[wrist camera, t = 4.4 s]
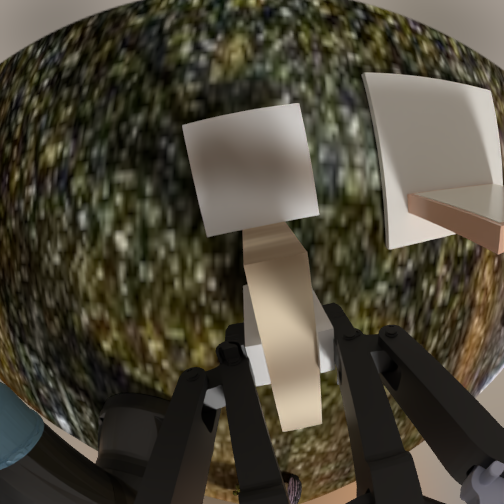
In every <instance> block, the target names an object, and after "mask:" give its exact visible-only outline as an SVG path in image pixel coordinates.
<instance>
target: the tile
mask: <svg viewBox="0 0 504 504" xmlns="http://www.w3.org/2000/svg"><path fill="white" fill-rule="evenodd" d="M407 199H408V213H410V214H413V215H415V216H418V217H420V218H423V219H425V220H427V221H430V222H432V223H434V224H436V225H439V226H441V227H443V228H445V229H448V230H450V231H452V232H454V233H456V234H458V235H461V236H463V237H465V238H467V239H469V240H471V241H473V242H475V243H477V244H479V245H481V246H483V247H485V248H487V249H489V250H491V251H492V252H494V253H496V254H500V253H503V252H504V186H502V185H497V184H483V185H474V186H466V187H457V188H449V189H441V190H434V191H426V192H419V193H412V194H407Z"/></svg>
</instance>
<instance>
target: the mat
mask: <svg viewBox="0 0 504 504" xmlns="http://www.w3.org/2000/svg"><path fill="white" fill-rule="evenodd" d="M361 75H362V78H363V82H364V86H365V90H366V94H367V99H368V103H369V108H370V112H371V117H372V122H373V127H374V133H375V139H376V145H377V151H378V158H379V165H380V173H381V181H382V191H383V202H384V216H385V234H386V248H388V249H394V248H398V247H402V246H407V245H411V244H415V243H420V242H424V241H428V240H432V239H436V238H441V237H445V236H449V235H453V234H456V233H454V232H452V231H450V230H448V229H445V228H443V227H441V226H439V225H436V224H434V223H432V222H430V221H427V220H425V219H423V218H420V217H418V216H415V215H413V214H410V213H408V199H407V194H412V193H419V192H426V191H434V190H441V189H449V188H457V187H466V186H474V185H483V184H497V185H502V186H503V180H502V161H501V150H500V141H499V133H498V126H497V120H496V115H495V109H494V104H493V100H492V95H491V91H490V90H486V89H482V88H478V87H474V86H470V85H466V84H461V83H457V82H452V81H446V80H441V79H434V78H428V77H420V76H412V75H402V74H389V73H369V72H364V73H363V74H361Z"/></svg>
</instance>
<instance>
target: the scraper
mask: <svg viewBox="0 0 504 504" xmlns="http://www.w3.org/2000/svg"><path fill="white" fill-rule="evenodd" d="M182 128H183V133H184V138H185V143H186V147H187V152H188V157H189V162H190V166H191V171H192V175H193V180H194V184H195V188H196V193H197V197H198V201H199V206H200V210H201V214H202V218H203V222H204V226H205V230H206V235H207V237H211V236H215V235H220V234H225V233H230V232H234V231H239V230H242V231H243V261H244V269H245V274H246V278H247V282H248V287H249V291H250V296H251V300H252V304H253V309H254V313H255V317H256V322H257V326H258V330H259V335H260V338H261V341H262V345H263V349H264V354H265V358H266V362H267V366H268V371H269V375H270V380H271V385H272V390H273V394H274V398H275V402H276V406H277V410H278V414H279V418H280V423H281V427H282V431H283V432H285V431H290V430H295V429H300V428H305V427H310V426H314V425H318V424H322V412H321V390H320V374H319V362H318V349H317V337H316V323H315V313H314V304H313V294H312V286H311V277H310V269H309V261H308V254H307V251H306V250H305V248H304V247H303V246H302V244H301V243H300V242H299V240H298V239H297V237H296V236H295V235H294V233H293V232H292V231H291V229H290V228H289V227H288V225H287V224H286V223H285V221H290V220H295V219H300V218H305V217H311V216H316V215H319V210H318V203H317V196H316V190H315V183H314V177H313V171H312V165H311V160H310V154H309V149H308V144H307V138H306V133H305V128H304V124H303V119H302V114H301V110H300V105H299V103H295V104H287V105H279V106H272V107H265V108H259V109H253V110H247V111H242V112H237V113H232V114H227V115H222V116H218V117H213V118H209V119H205V120H200V121H196V122H193V123H189V124H185V125H182Z"/></svg>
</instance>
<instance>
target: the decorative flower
mask: <svg viewBox="0 0 504 504" xmlns="http://www.w3.org/2000/svg"><path fill="white" fill-rule="evenodd" d="M301 488H302V486H301V482H300V480H299V477H298V476H296V475H293V474H292V475H291V476H290V478H289V484H288V492H287V494H288V497H289V500H290V503H291V504H298V502H299V499H300V496H301ZM236 489H240V487H239V485H236ZM238 491H239V492H240V490H237V491H233V494H234V495H238V494H239V493H238Z"/></svg>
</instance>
